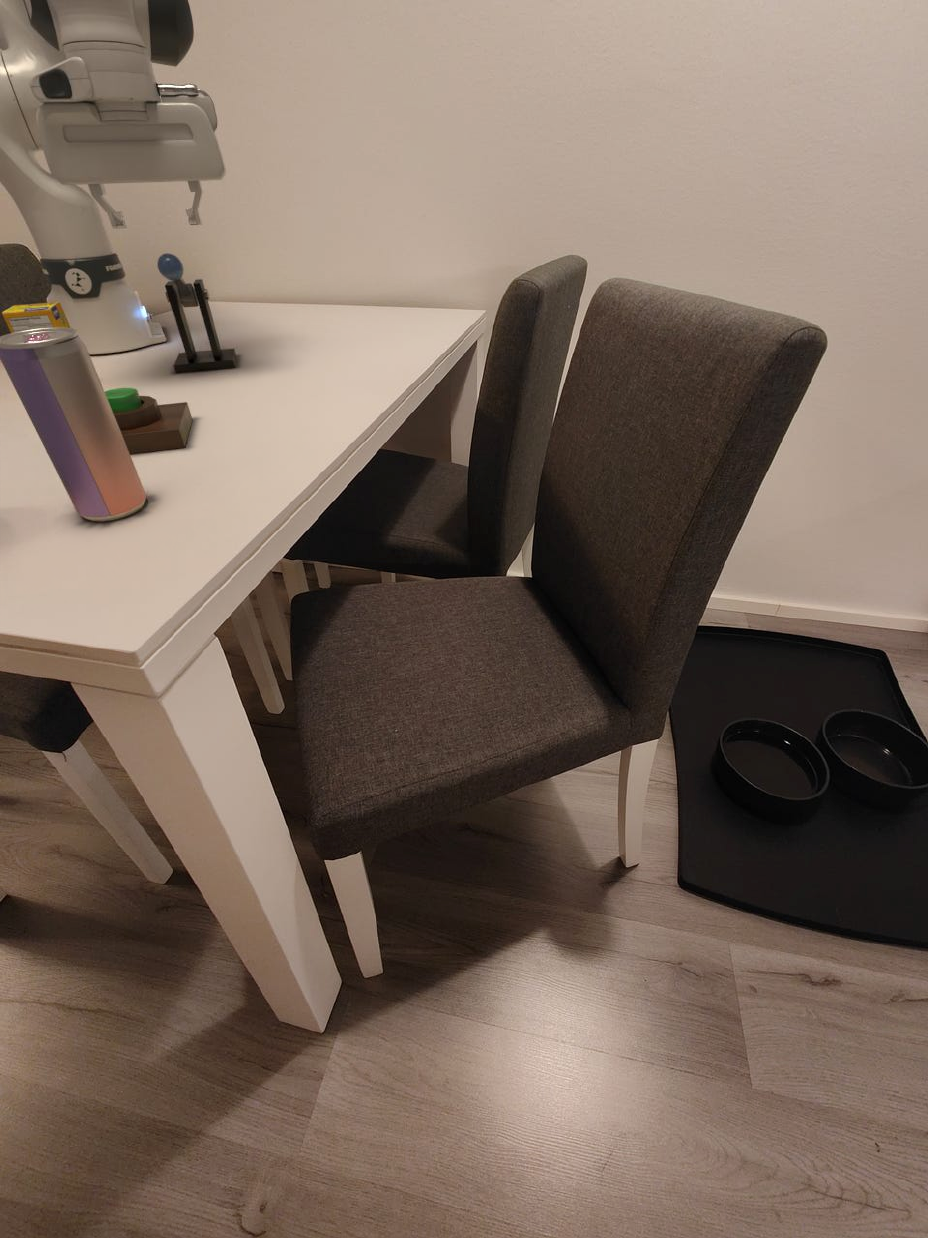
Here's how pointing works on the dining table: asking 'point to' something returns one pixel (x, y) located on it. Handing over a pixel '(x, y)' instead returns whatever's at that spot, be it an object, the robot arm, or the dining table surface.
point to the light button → (123, 399)
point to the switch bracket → (191, 358)
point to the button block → (154, 426)
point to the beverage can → (73, 420)
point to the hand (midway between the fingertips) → (158, 226)
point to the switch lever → (177, 279)
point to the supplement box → (35, 316)
